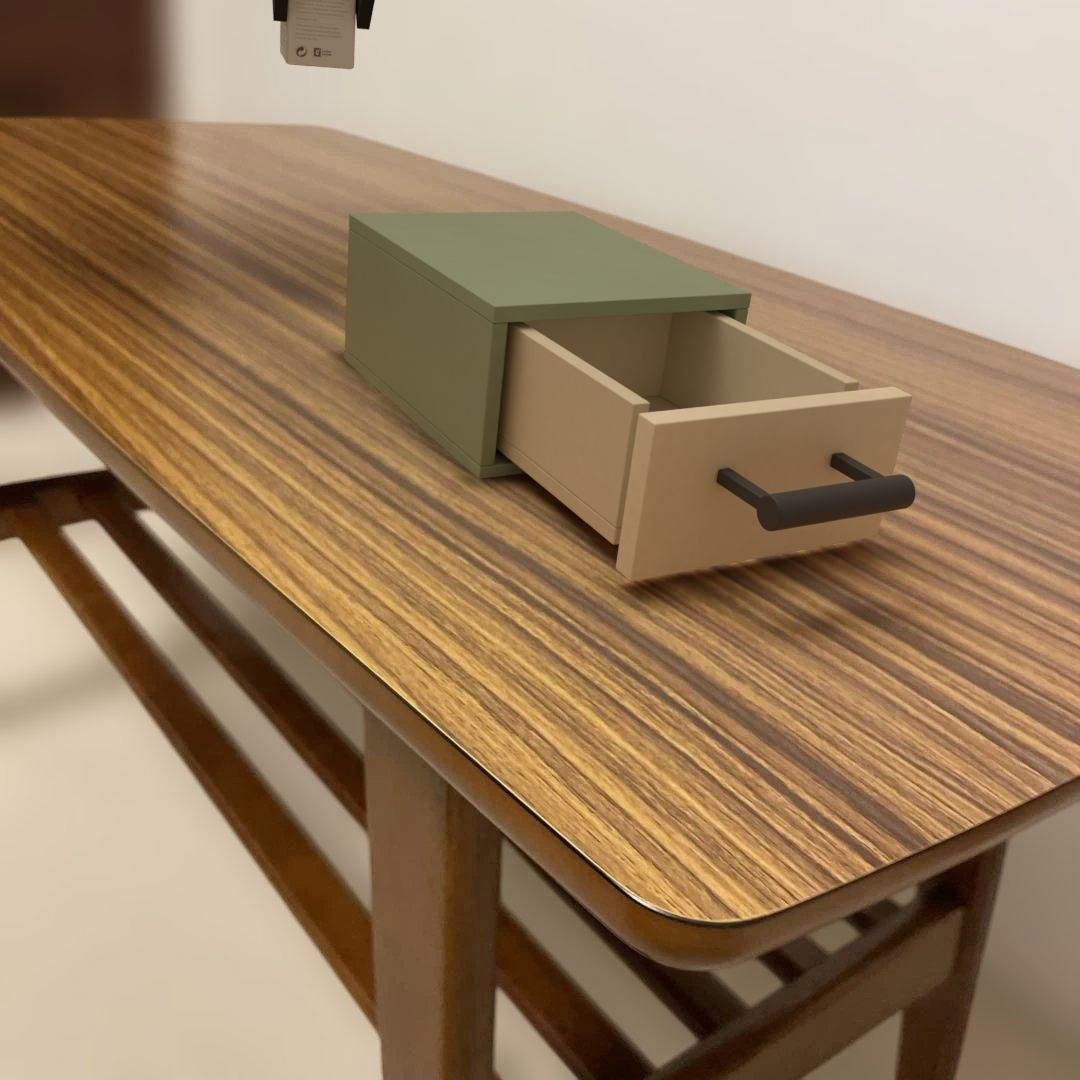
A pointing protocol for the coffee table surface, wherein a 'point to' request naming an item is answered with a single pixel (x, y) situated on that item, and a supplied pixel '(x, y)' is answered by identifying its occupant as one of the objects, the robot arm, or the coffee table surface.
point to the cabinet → (492, 306)
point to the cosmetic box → (319, 33)
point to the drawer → (698, 438)
